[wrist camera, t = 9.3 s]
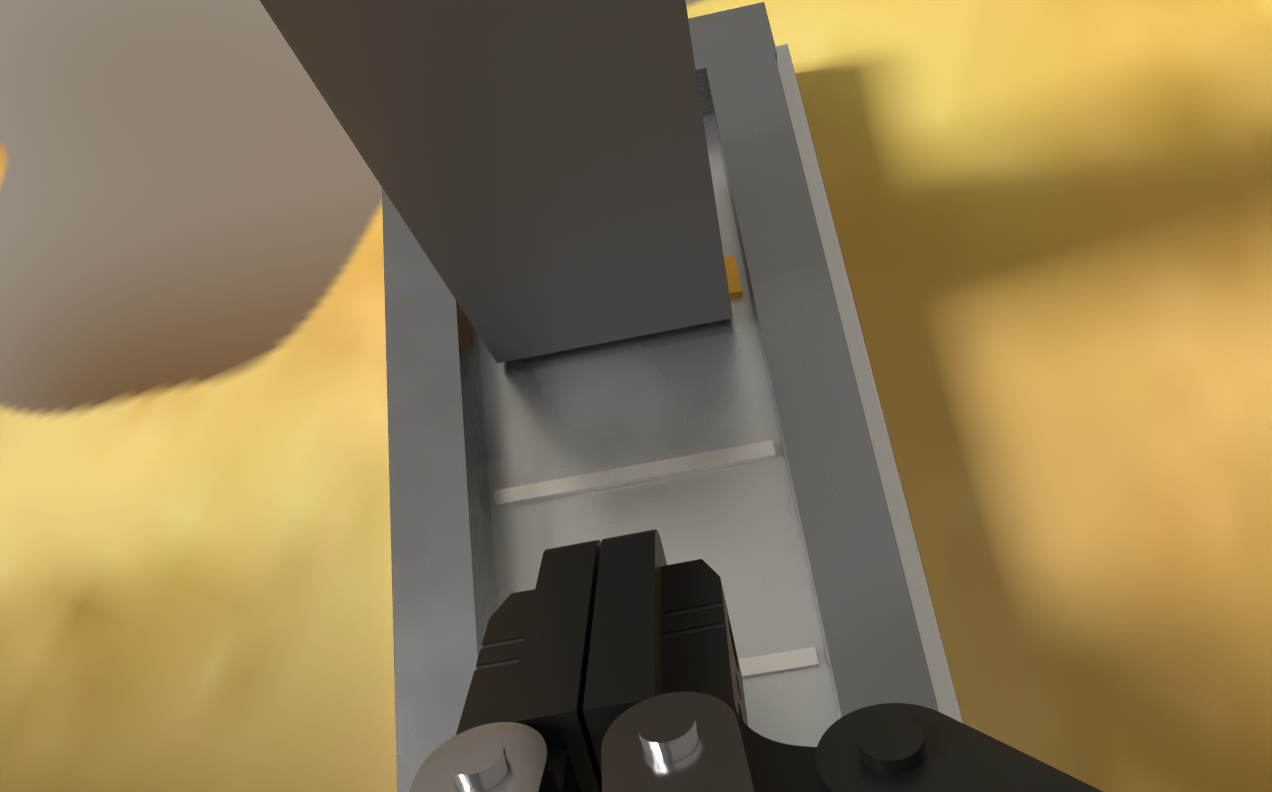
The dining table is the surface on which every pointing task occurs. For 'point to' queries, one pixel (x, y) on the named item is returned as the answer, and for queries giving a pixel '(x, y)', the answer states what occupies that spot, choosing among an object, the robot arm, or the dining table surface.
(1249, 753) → the dining table surface
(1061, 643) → the dining table surface
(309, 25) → the fader tab
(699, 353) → the fader console
